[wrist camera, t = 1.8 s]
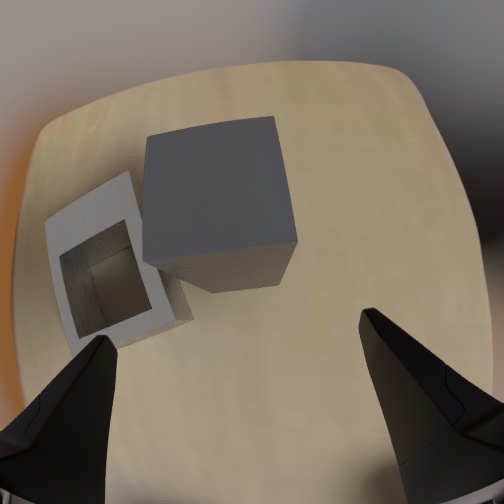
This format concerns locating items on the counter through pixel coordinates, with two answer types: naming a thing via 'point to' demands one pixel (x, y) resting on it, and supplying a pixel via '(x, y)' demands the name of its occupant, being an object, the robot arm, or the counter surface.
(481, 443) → the robot arm
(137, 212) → the block with rectangular hole
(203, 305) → the counter surface
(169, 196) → the peg
